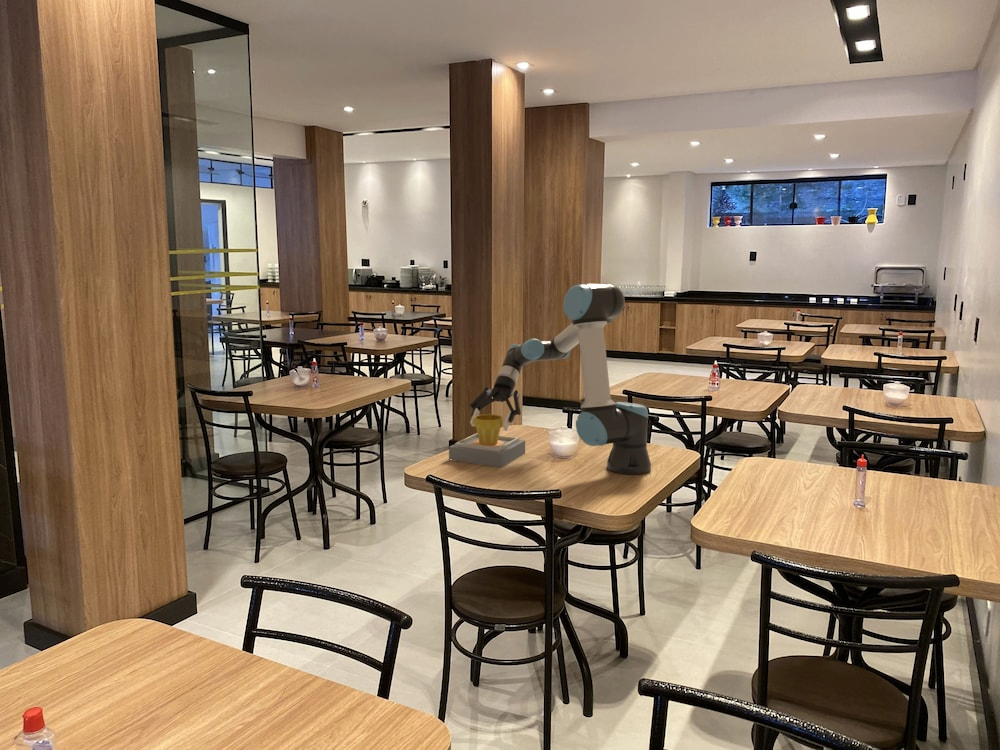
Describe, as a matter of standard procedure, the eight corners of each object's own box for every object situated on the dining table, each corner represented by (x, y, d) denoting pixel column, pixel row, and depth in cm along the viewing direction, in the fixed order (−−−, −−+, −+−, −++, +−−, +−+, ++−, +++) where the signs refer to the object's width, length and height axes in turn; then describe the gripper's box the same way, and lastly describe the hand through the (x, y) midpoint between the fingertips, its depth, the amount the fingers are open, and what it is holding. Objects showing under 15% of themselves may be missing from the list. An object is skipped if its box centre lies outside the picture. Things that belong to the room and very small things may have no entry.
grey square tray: (525, 453, 273) (525, 437, 272) (501, 467, 254) (501, 450, 253) (475, 447, 282) (475, 431, 281) (449, 460, 263) (448, 443, 262)
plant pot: (470, 445, 264) (470, 418, 263) (479, 438, 274) (479, 413, 272) (497, 447, 261) (497, 420, 260) (505, 440, 271) (505, 415, 269)
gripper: (539, 389, 275) (522, 436, 264) (480, 383, 286) (462, 428, 275) (533, 377, 270) (516, 424, 259) (474, 372, 281) (455, 417, 270)
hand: (488, 426), depth 267 cm, fingers open, 13 cm apart
